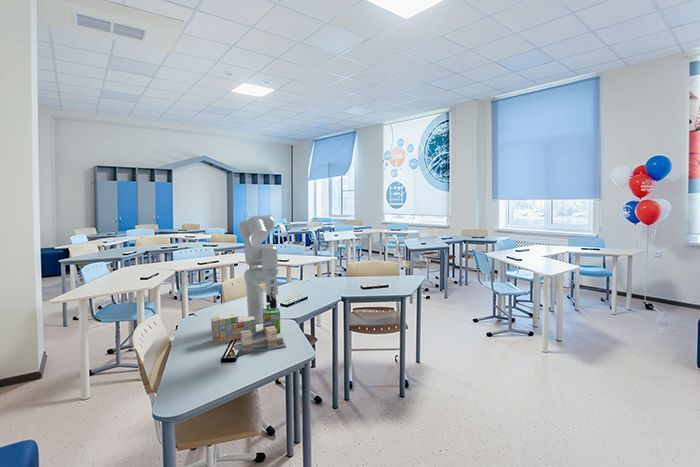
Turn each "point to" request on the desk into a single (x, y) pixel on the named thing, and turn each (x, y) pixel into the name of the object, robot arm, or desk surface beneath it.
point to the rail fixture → (255, 344)
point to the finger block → (271, 336)
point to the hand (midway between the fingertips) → (271, 305)
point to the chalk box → (271, 318)
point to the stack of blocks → (231, 327)
